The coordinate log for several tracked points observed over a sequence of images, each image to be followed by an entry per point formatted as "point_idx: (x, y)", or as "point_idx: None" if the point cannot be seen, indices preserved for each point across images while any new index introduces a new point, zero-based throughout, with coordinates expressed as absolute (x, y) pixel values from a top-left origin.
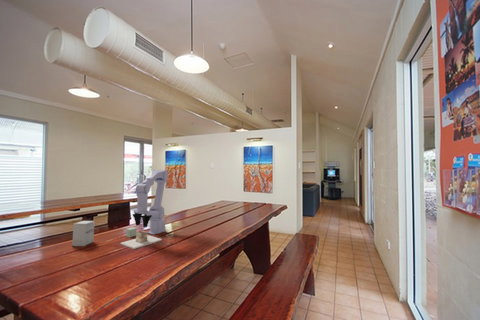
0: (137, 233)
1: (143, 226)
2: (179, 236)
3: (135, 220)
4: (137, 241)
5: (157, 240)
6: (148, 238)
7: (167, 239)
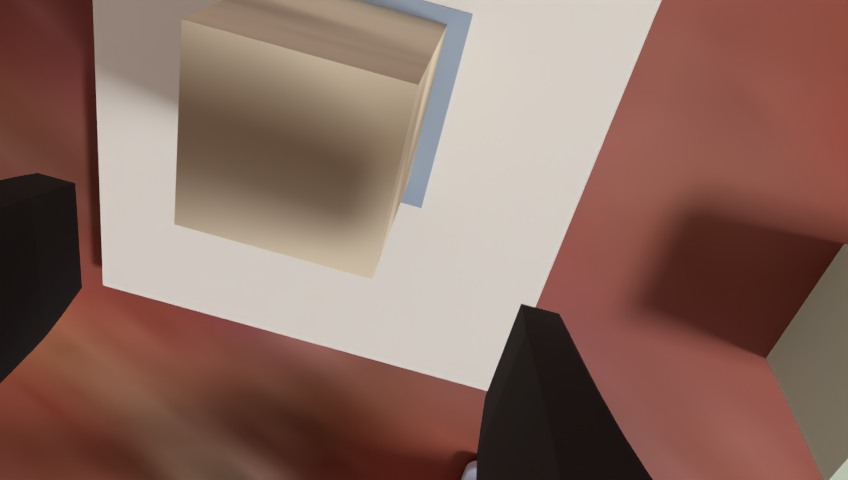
0: (349, 62)
1: (33, 185)
2: (66, 465)
3: (584, 446)
4: (382, 9)
5: (100, 206)
6: None
7: (88, 331)
